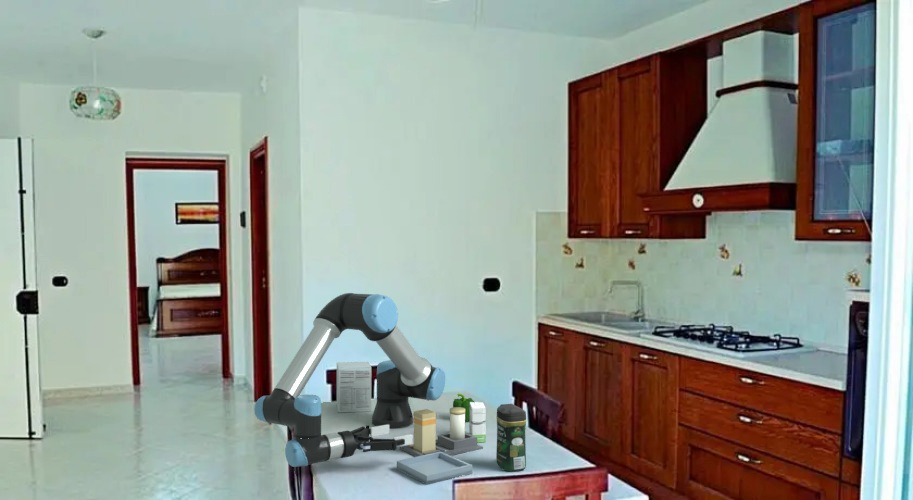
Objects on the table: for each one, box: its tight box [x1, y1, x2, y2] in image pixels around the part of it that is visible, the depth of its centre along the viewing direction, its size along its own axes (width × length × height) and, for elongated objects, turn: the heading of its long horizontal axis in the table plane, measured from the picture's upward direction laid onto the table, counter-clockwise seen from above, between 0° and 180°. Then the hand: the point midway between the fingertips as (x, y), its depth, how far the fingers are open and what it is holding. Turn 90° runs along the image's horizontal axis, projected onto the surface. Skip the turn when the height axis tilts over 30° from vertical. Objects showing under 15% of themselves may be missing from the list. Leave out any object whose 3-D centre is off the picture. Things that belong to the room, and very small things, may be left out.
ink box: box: [468, 401, 487, 443], centre depth 243 cm, size 9×5×12 cm, turn 5°
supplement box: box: [336, 361, 372, 413], centre depth 285 cm, size 13×13×18 cm
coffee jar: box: [495, 403, 527, 472], centre depth 214 cm, size 10×8×19 cm
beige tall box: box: [412, 408, 437, 454], centre depth 228 cm, size 5×5×13 cm
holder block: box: [398, 432, 484, 457], centre depth 232 cm, size 15×22×3 cm
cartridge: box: [449, 407, 466, 440], centre depth 236 cm, size 5×5×12 cm
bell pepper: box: [452, 393, 475, 422], centre depth 268 cm, size 8×8×10 cm
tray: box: [396, 452, 473, 486], centre depth 210 cm, size 16×16×2 cm
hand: (400, 433), depth 223 cm, fingers open, 13 cm apart
